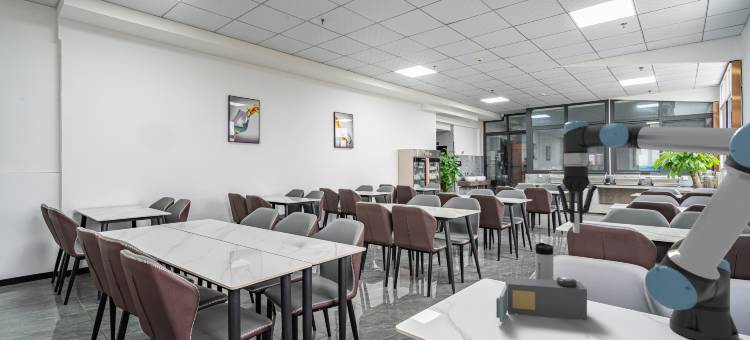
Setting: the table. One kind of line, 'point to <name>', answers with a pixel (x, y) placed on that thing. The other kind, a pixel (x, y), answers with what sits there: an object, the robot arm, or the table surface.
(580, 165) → the robot arm
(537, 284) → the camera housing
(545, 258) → the travel mug
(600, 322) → the table surface
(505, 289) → the side door
